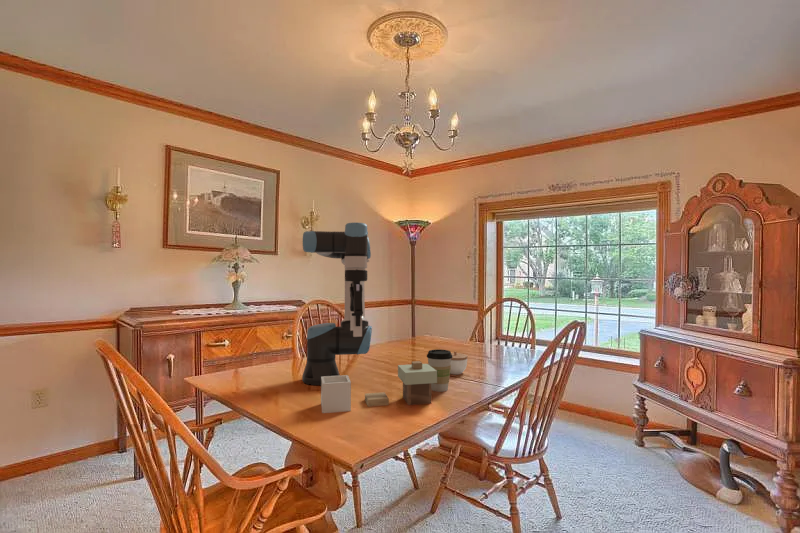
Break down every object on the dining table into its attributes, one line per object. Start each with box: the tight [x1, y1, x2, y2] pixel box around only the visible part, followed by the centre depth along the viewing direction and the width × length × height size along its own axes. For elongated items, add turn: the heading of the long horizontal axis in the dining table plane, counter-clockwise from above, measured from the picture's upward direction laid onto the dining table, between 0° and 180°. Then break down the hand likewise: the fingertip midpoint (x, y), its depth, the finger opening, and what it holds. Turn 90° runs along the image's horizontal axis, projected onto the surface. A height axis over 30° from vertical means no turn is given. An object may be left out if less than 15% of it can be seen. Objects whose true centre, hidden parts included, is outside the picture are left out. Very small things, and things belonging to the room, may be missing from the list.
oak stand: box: [364, 391, 390, 408], centre depth 141 cm, size 7×7×3 cm
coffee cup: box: [426, 348, 452, 393], centre depth 156 cm, size 10×10×15 cm
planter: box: [320, 374, 352, 414], centre depth 135 cm, size 9×9×10 cm
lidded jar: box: [450, 351, 468, 375], centre depth 184 cm, size 11×11×9 cm
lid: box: [397, 360, 437, 385], centre depth 143 cm, size 11×11×6 cm
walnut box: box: [402, 382, 432, 406], centre depth 143 cm, size 8×8×8 cm
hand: (355, 333), depth 137 cm, fingers open, 13 cm apart
